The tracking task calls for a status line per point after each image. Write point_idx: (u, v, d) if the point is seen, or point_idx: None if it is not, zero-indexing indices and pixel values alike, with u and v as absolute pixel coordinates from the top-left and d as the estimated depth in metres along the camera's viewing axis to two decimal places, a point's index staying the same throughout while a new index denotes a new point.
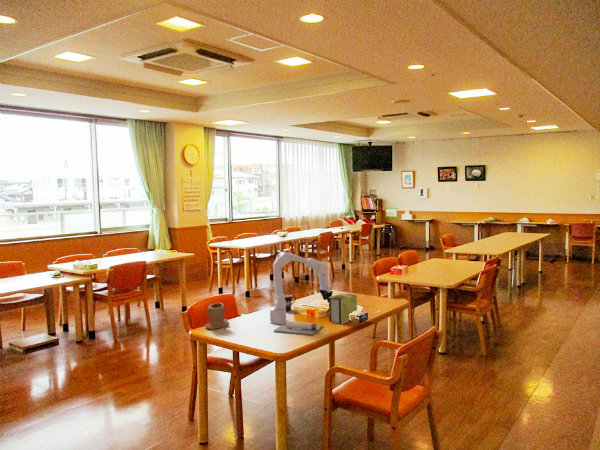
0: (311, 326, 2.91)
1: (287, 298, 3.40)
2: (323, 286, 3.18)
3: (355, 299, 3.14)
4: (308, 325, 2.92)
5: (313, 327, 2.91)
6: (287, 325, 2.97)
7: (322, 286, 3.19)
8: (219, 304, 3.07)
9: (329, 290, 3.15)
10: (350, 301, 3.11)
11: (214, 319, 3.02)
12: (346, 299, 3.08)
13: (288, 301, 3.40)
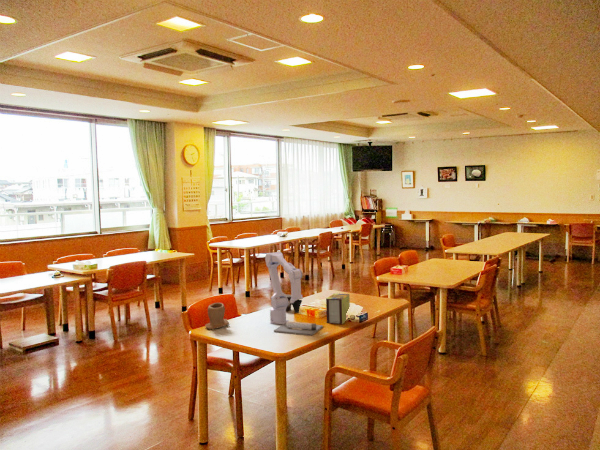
0: (311, 326, 2.91)
1: (287, 298, 3.40)
2: (292, 295, 2.95)
3: (348, 298, 3.17)
4: (308, 325, 2.92)
5: (313, 327, 2.91)
6: (287, 325, 2.97)
7: (291, 295, 2.96)
8: (219, 304, 3.07)
9: (291, 301, 2.90)
10: (346, 300, 3.13)
11: (214, 319, 3.02)
12: (344, 299, 3.09)
13: None
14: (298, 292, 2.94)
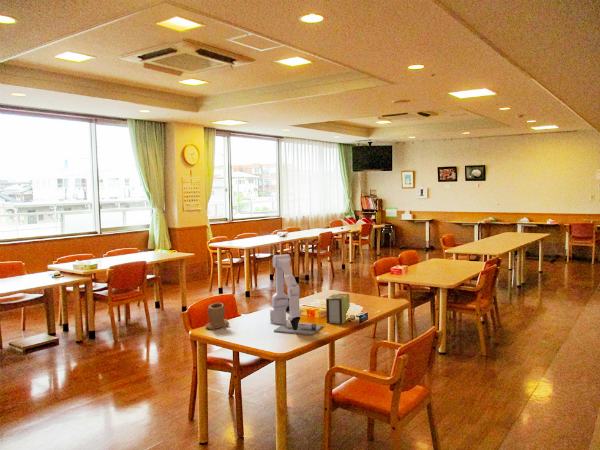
0: (311, 326, 2.91)
1: None
2: (290, 312, 2.88)
3: (348, 298, 3.17)
4: (308, 325, 2.92)
5: (313, 327, 2.91)
6: (287, 325, 2.97)
7: None
8: (219, 304, 3.07)
9: (289, 318, 2.82)
10: (346, 300, 3.13)
11: (214, 319, 3.02)
12: (344, 299, 3.09)
13: (288, 301, 3.40)
14: (296, 309, 2.86)
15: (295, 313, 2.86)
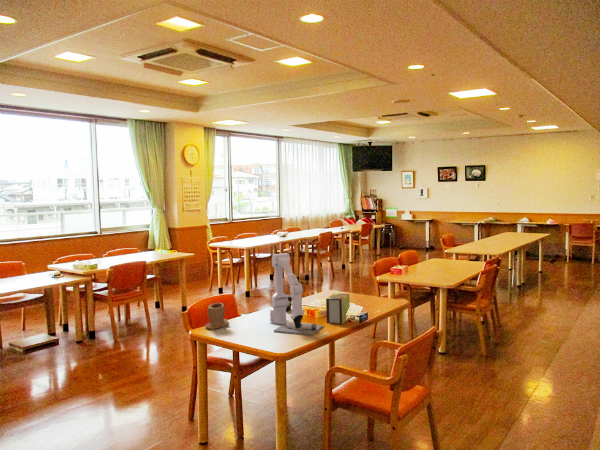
0: (311, 326, 2.91)
1: None
2: (293, 311, 2.91)
3: (348, 298, 3.17)
4: (308, 325, 2.92)
5: (313, 327, 2.91)
6: (287, 325, 2.97)
7: (292, 310, 2.92)
8: (219, 304, 3.07)
9: (292, 317, 2.86)
10: (346, 300, 3.13)
11: (214, 319, 3.02)
12: (344, 299, 3.09)
13: None
14: (299, 307, 2.90)
15: (298, 311, 2.90)
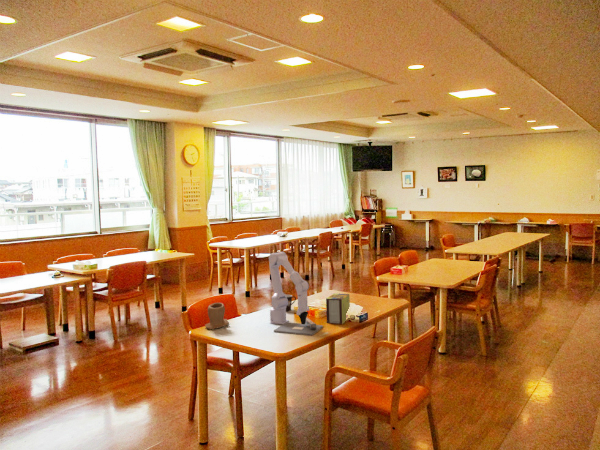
0: (311, 325, 2.93)
1: (287, 298, 3.40)
2: (298, 307, 2.99)
3: (348, 298, 3.17)
4: (310, 324, 2.94)
5: (311, 327, 2.91)
6: None
7: (298, 307, 2.99)
8: (219, 304, 3.07)
9: (298, 313, 2.94)
10: (346, 300, 3.13)
11: (214, 319, 3.02)
12: (344, 299, 3.09)
13: (288, 301, 3.40)
14: (305, 304, 2.98)
15: (303, 308, 2.98)
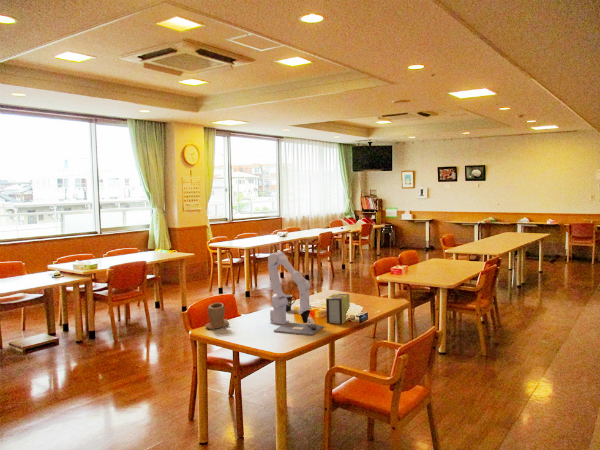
0: (311, 325, 2.93)
1: (287, 298, 3.40)
2: (300, 306, 3.02)
3: (348, 298, 3.17)
4: (310, 324, 2.95)
5: (311, 327, 2.92)
6: None
7: (300, 306, 3.02)
8: (219, 304, 3.07)
9: (300, 312, 2.97)
10: (346, 300, 3.13)
11: (214, 319, 3.02)
12: (344, 299, 3.09)
13: (288, 301, 3.40)
14: (306, 303, 3.01)
15: (305, 307, 3.00)
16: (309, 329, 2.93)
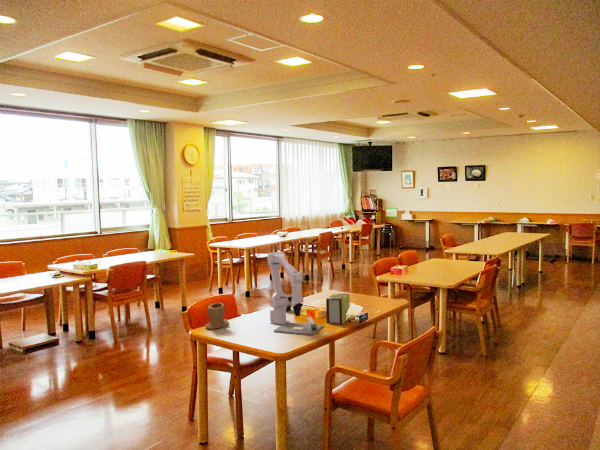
0: (311, 325, 2.93)
1: (287, 298, 3.40)
2: (292, 299, 2.93)
3: (348, 298, 3.17)
4: (310, 324, 2.95)
5: (311, 327, 2.92)
6: (307, 320, 3.08)
7: (292, 298, 2.94)
8: (219, 304, 3.07)
9: (292, 304, 2.88)
10: (346, 300, 3.13)
11: (214, 319, 3.02)
12: (344, 299, 3.09)
13: None
14: (299, 295, 2.92)
15: (297, 299, 2.92)
16: (309, 329, 2.93)
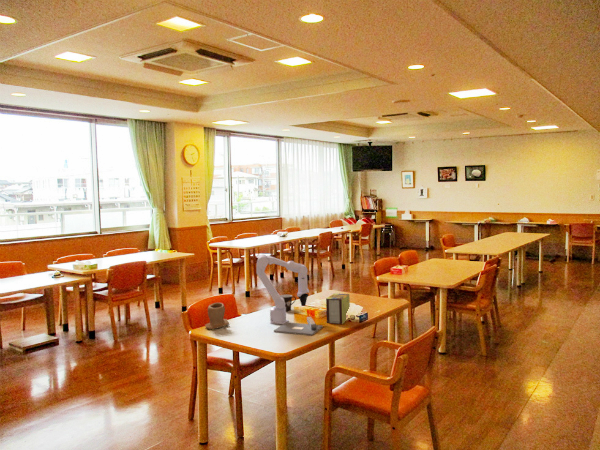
0: (311, 325, 2.93)
1: (287, 298, 3.40)
2: (299, 289, 3.12)
3: (348, 298, 3.17)
4: (310, 324, 2.95)
5: (311, 327, 2.92)
6: (307, 320, 3.08)
7: (298, 289, 3.13)
8: (219, 304, 3.07)
9: (298, 294, 3.07)
10: (346, 300, 3.13)
11: (214, 319, 3.02)
12: (344, 299, 3.09)
13: (288, 301, 3.40)
14: (305, 286, 3.11)
15: (303, 290, 3.11)
16: (309, 329, 2.93)
